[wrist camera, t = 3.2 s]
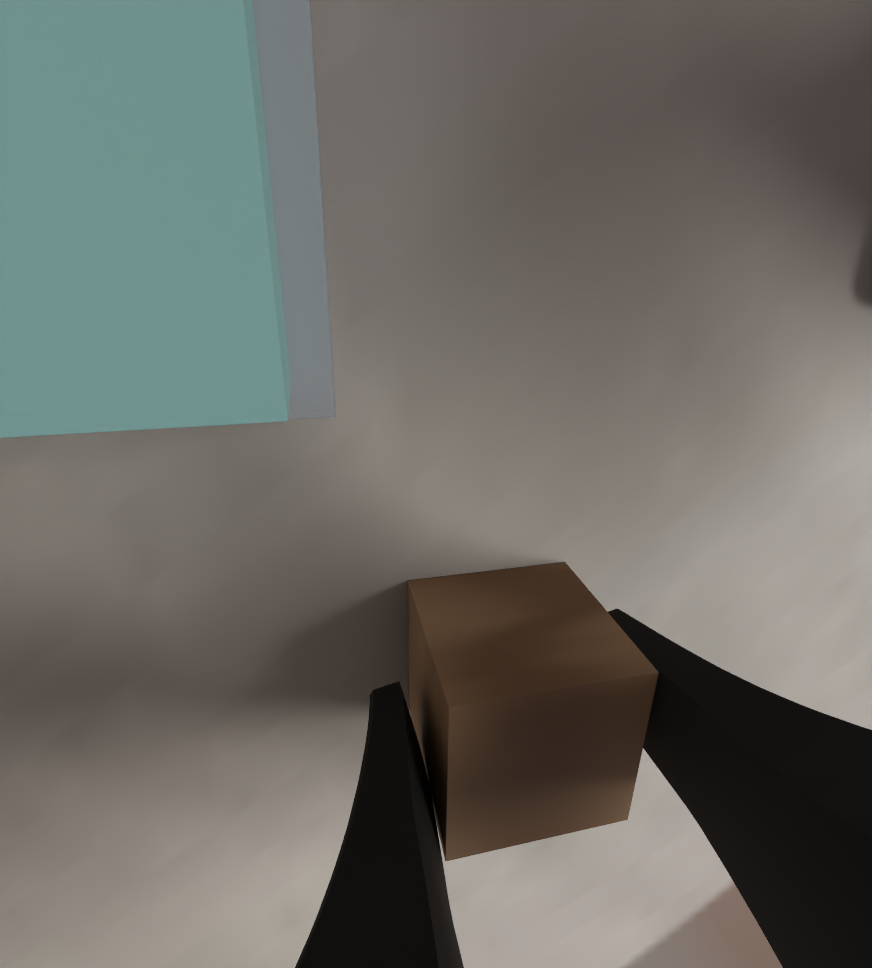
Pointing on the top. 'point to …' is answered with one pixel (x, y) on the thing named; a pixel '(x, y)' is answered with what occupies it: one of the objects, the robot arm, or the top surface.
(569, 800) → the walnut block
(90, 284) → the tower mid
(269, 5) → the tower base
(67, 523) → the top surface
